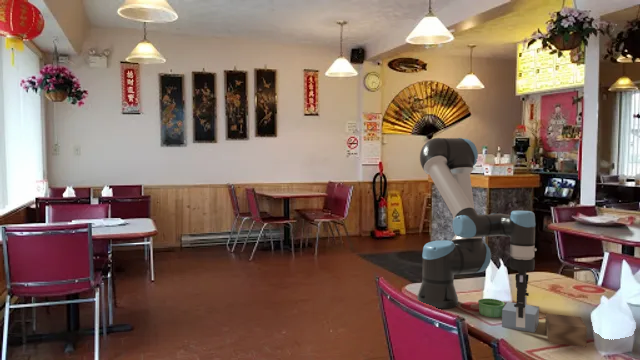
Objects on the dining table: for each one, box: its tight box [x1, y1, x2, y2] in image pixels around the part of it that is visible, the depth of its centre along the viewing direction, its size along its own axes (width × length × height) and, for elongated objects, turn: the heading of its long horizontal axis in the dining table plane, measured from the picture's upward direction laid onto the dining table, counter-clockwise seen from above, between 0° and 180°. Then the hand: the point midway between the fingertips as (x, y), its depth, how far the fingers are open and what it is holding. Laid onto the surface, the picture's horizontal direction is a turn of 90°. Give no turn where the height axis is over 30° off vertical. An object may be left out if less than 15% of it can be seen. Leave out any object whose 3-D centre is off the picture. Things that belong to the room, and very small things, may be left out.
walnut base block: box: [544, 313, 588, 347], centre depth 150 cm, size 10×10×6 cm
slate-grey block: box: [501, 301, 540, 333], centre depth 162 cm, size 10×10×6 cm
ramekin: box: [477, 298, 506, 318], centre depth 173 cm, size 9×9×4 cm
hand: (521, 320), depth 162 cm, fingers open, 13 cm apart
